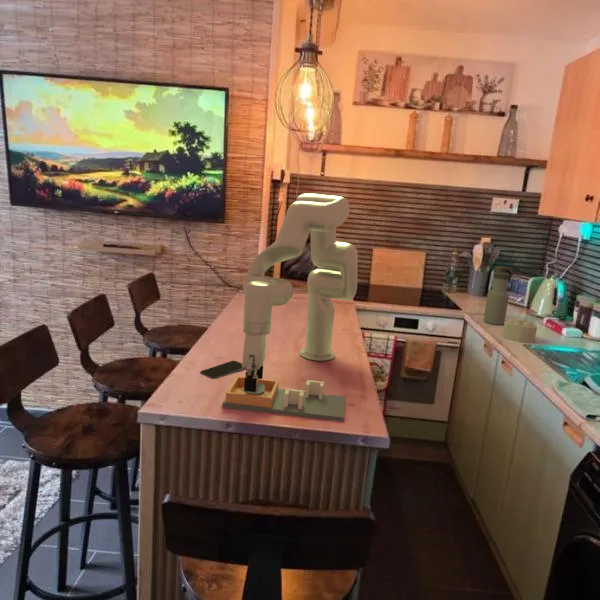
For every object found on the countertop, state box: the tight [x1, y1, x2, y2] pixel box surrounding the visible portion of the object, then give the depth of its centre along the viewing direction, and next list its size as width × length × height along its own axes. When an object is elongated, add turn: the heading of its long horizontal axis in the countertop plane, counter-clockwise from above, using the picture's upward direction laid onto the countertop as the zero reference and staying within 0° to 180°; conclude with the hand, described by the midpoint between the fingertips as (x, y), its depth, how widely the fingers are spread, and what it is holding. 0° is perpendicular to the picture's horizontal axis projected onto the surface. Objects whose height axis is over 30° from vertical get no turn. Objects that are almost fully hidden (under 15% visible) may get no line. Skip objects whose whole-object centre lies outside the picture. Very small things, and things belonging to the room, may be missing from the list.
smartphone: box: [199, 360, 247, 380], centre depth 168 cm, size 7×1×15 cm
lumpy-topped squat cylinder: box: [501, 317, 538, 344], centre depth 230 cm, size 10×13×9 cm
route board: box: [221, 379, 346, 423], centre depth 146 cm, size 14×33×5 cm, turn 84°
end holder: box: [225, 375, 280, 408], centre depth 147 cm, size 13×13×3 cm
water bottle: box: [483, 265, 514, 326], centre depth 253 cm, size 10×10×28 cm
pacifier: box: [241, 373, 267, 396], centre depth 146 cm, size 7×6×6 cm
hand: (253, 384), depth 147 cm, fingers open, 9 cm apart
